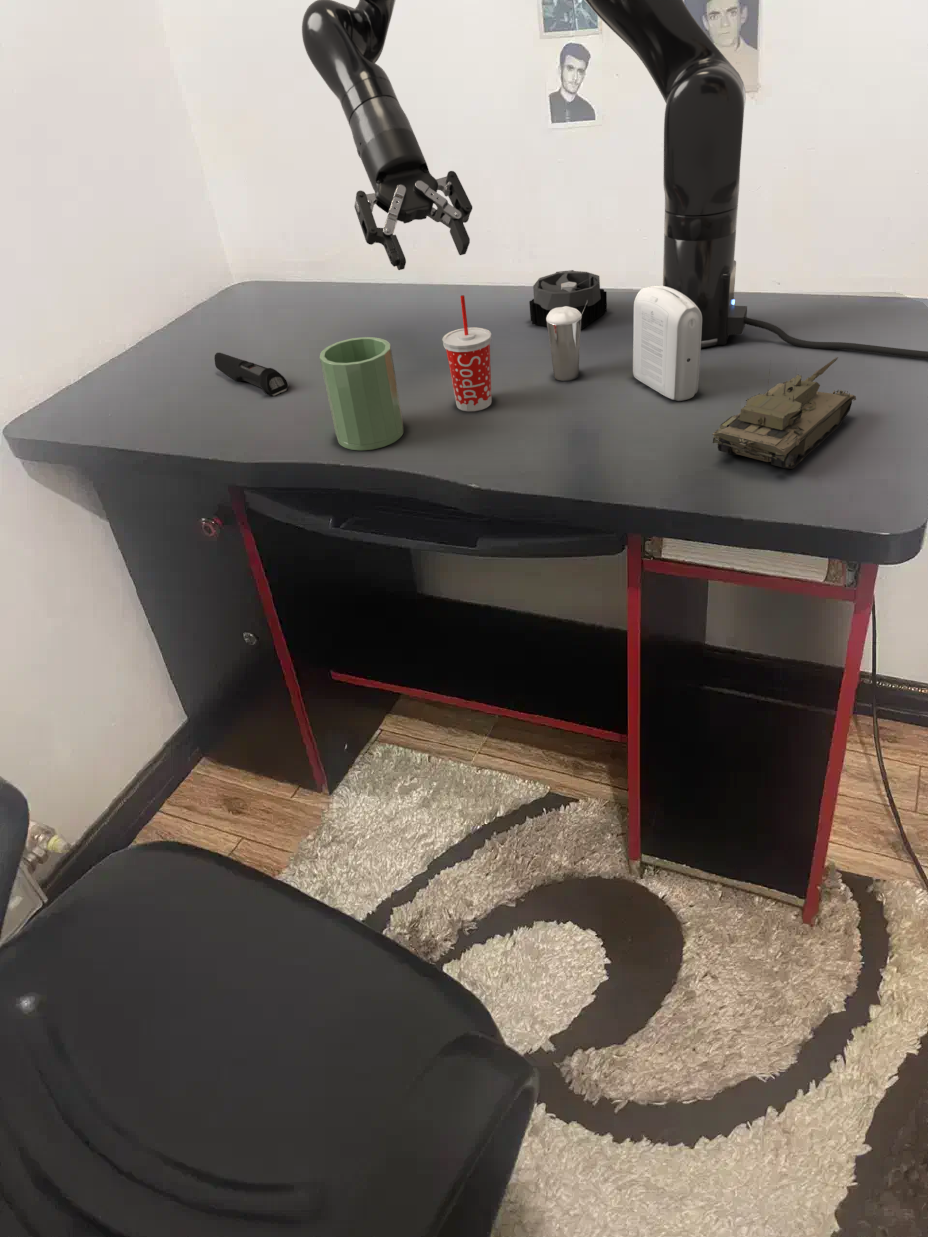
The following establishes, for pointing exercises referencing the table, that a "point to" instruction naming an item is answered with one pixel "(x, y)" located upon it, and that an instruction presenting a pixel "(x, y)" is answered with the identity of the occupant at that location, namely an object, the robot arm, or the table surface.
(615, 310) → the table surface
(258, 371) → the electric trimmer
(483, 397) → the beverage cup
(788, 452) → the tank
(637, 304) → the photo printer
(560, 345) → the milkshake
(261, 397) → the table surface
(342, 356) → the pen pot
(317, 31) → the robot arm
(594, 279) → the cpu cooler
